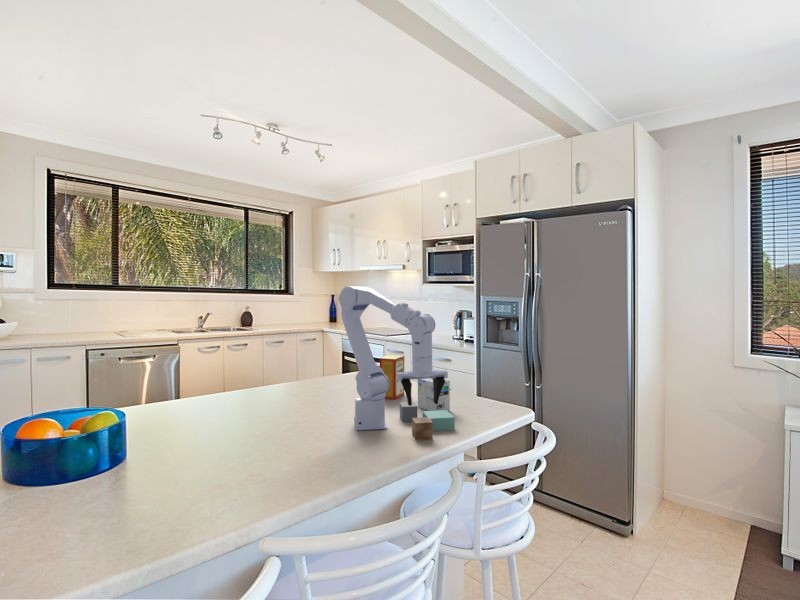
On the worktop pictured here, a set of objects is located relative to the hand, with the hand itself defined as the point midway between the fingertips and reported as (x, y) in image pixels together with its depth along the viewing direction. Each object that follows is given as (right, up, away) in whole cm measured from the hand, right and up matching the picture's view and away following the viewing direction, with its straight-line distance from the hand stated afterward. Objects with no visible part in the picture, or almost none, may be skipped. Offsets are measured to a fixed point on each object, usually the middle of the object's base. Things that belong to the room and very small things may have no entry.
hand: (422, 404), depth 123 cm
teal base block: (+5, -10, +10) cm, 15 cm away
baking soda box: (-10, -9, +47) cm, 49 cm away
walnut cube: (0, -10, 0) cm, 10 cm away
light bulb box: (+5, -9, +29) cm, 31 cm away
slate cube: (-4, -9, +17) cm, 20 cm away
